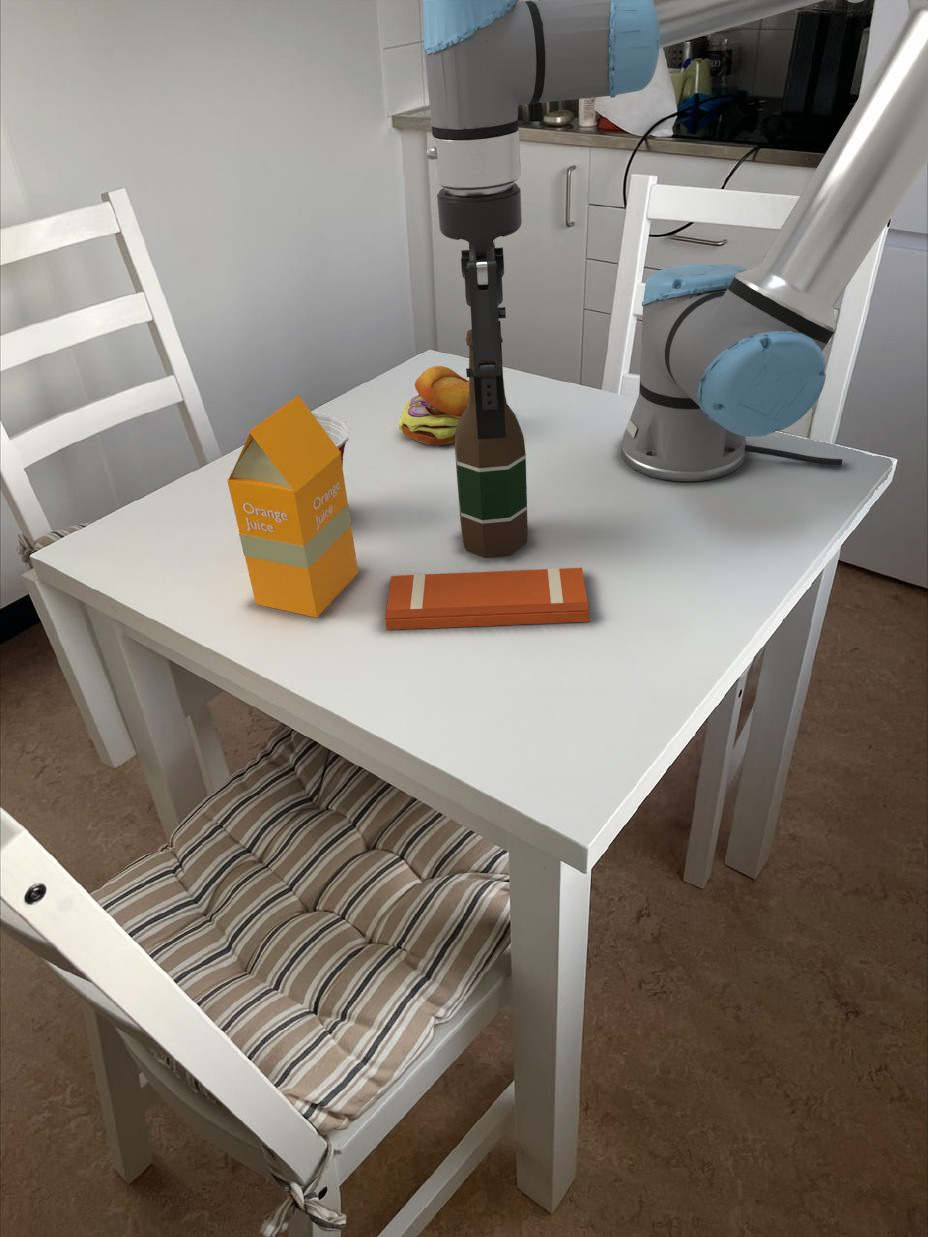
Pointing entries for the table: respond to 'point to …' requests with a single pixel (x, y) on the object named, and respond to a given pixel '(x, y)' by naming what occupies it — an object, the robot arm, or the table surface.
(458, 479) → the beer bottle
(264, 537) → the orange juice
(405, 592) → the towel
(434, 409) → the cheeseburger
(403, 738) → the table surface
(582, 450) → the table surface
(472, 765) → the table surface
